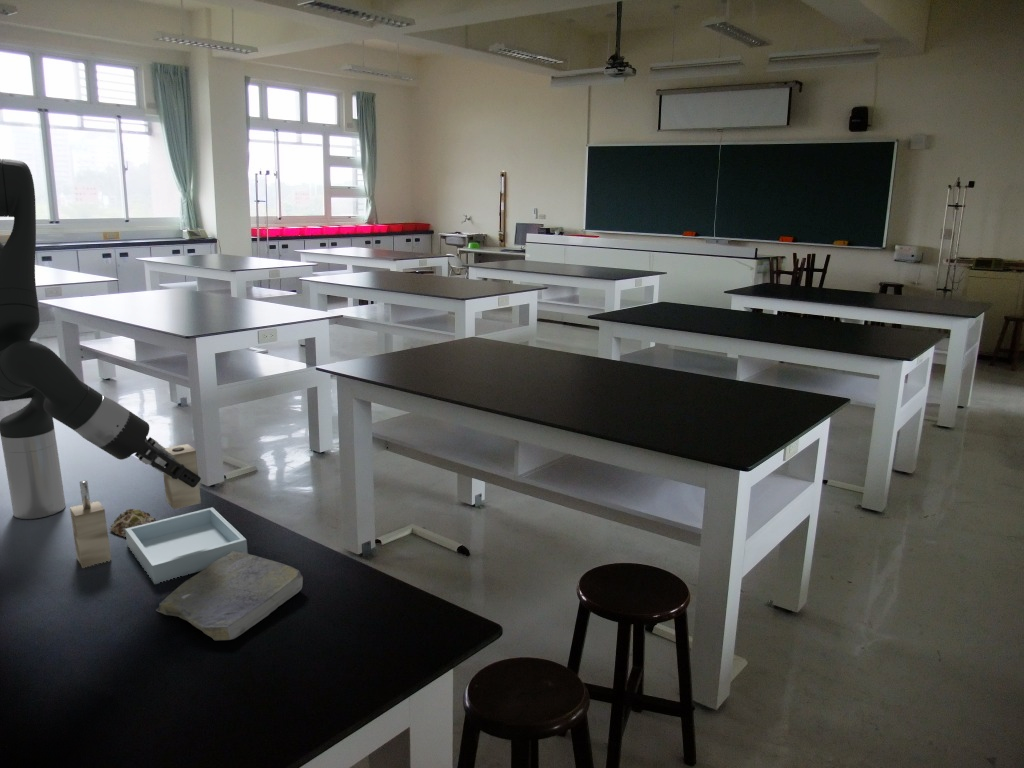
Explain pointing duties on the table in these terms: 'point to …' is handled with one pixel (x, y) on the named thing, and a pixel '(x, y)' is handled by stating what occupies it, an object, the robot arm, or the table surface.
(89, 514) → the block
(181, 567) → the tray
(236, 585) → the fossil
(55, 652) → the table surface
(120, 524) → the mineral rock
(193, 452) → the block
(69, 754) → the table surface
